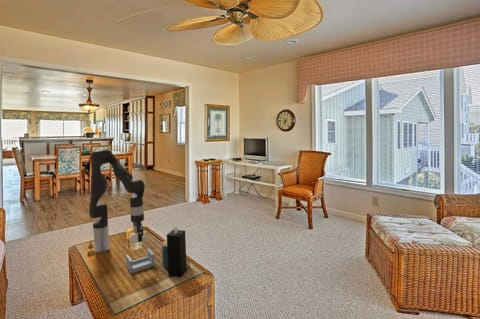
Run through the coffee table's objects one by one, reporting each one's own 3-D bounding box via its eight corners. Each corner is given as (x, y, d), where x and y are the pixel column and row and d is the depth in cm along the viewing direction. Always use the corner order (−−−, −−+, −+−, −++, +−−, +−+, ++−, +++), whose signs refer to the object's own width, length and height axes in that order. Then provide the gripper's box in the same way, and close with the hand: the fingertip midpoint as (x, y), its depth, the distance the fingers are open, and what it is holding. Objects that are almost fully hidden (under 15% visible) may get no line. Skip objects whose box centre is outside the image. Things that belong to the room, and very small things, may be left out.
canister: (170, 257, 170) (169, 231, 169) (187, 260, 166) (186, 234, 164) (158, 267, 158) (156, 239, 156) (176, 271, 154) (175, 242, 152)
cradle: (126, 266, 160) (125, 255, 159) (149, 259, 168) (148, 248, 168) (130, 273, 152) (129, 261, 151) (154, 266, 160) (153, 254, 160)
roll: (132, 242, 152) (130, 233, 154) (130, 245, 156) (128, 236, 158) (148, 238, 158) (146, 229, 160) (146, 241, 162) (144, 232, 164)
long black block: (181, 277, 147) (179, 230, 144) (168, 276, 148) (166, 229, 145) (186, 270, 155) (185, 225, 151) (174, 269, 156) (172, 224, 153)
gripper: (127, 211, 160) (129, 237, 162) (133, 217, 148) (135, 245, 150) (140, 209, 164) (141, 234, 166) (147, 214, 153) (148, 242, 155)
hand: (138, 239), depth 158 cm, fingers closed on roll, 5 cm apart
